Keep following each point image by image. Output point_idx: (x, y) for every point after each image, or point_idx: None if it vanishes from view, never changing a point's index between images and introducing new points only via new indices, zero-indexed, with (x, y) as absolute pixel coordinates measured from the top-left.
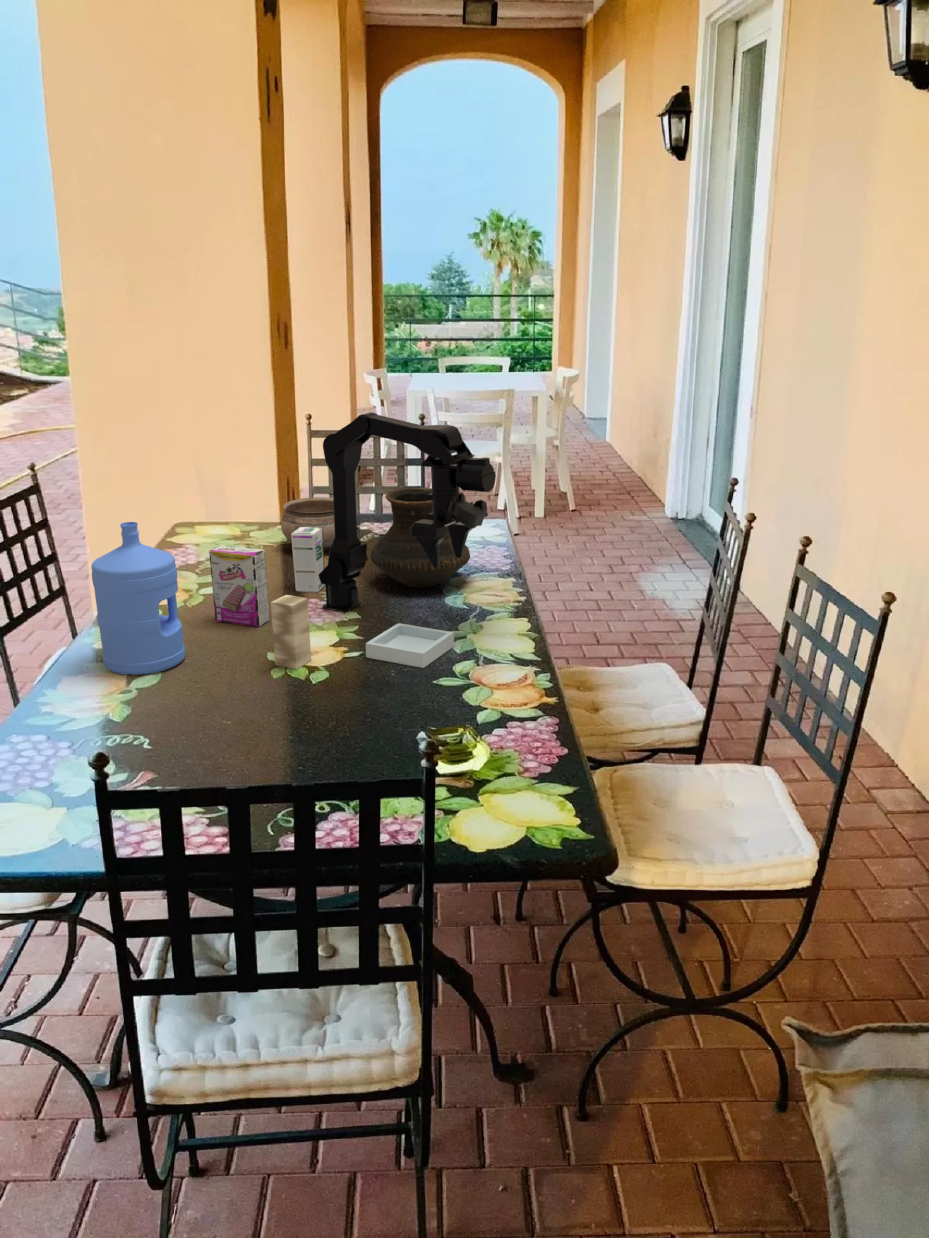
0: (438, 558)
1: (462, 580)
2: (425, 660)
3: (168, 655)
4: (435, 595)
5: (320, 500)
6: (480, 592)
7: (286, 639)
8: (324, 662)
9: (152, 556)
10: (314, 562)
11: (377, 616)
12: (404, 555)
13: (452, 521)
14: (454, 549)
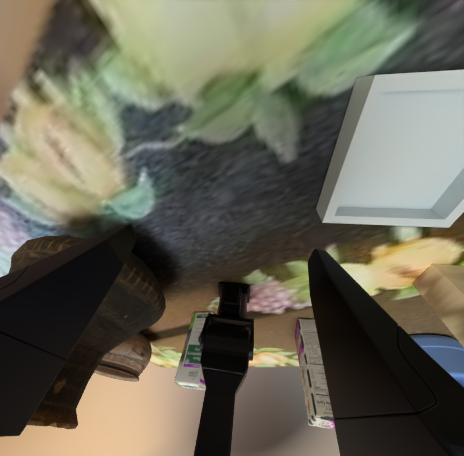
0: (345, 284)
1: (72, 227)
2: None
3: (458, 351)
4: (140, 232)
5: (97, 370)
6: (77, 186)
7: None
8: (444, 250)
9: None
10: None
11: (246, 258)
12: (140, 308)
13: None
14: (119, 269)
